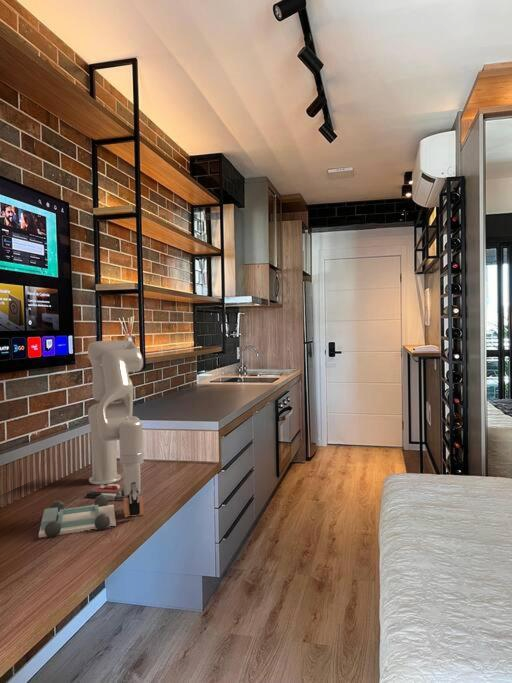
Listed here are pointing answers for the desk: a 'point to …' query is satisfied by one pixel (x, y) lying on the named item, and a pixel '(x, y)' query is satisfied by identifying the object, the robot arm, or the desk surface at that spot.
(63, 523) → the chassis
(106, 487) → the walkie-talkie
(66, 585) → the desk surface
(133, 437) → the robot arm
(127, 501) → the orange-brown block
